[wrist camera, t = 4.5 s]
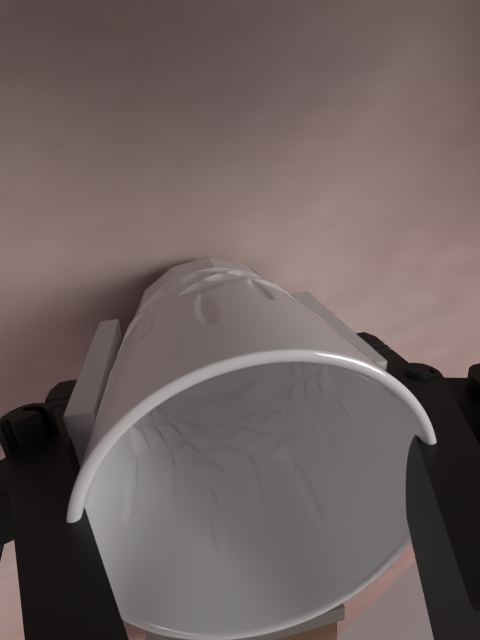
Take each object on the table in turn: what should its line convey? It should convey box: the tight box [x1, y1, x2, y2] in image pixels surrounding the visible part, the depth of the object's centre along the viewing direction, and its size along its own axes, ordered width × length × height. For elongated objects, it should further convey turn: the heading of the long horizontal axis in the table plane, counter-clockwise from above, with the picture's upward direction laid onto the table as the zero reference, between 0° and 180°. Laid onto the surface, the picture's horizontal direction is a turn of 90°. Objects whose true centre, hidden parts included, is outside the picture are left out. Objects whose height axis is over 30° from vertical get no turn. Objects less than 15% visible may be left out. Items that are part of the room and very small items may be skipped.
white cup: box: [66, 257, 437, 640], centre depth 13 cm, size 8×8×10 cm
